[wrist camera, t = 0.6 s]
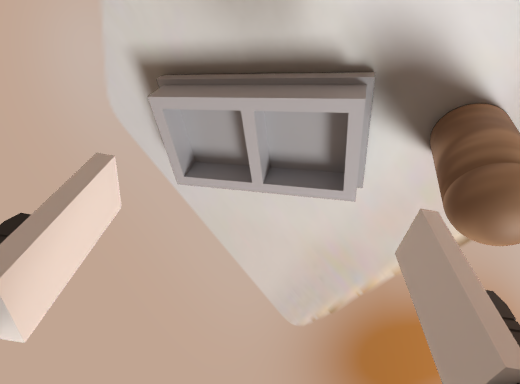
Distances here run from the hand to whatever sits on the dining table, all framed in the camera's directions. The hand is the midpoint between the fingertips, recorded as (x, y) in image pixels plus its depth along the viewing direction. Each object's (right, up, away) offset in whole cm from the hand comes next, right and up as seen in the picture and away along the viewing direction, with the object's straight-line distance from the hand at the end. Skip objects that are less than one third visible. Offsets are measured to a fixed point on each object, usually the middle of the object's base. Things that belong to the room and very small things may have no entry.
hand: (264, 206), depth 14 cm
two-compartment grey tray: (0, +6, +14) cm, 16 cm away
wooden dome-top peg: (+15, +5, +10) cm, 19 cm away
